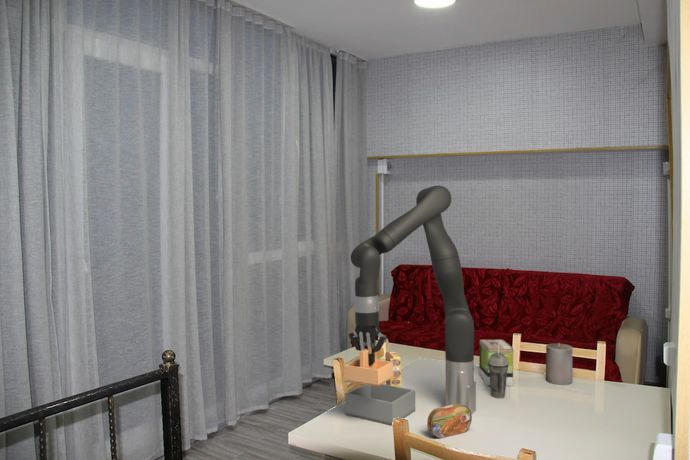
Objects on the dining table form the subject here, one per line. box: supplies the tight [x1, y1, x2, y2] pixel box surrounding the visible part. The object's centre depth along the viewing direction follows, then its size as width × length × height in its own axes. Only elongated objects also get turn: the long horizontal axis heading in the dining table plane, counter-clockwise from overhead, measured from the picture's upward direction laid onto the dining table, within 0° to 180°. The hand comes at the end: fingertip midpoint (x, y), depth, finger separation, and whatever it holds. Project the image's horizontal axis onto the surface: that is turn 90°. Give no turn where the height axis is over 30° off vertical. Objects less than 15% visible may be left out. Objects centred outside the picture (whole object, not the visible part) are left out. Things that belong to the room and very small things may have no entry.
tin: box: [426, 404, 473, 439], centre depth 169 cm, size 15×3×8 cm, turn 117°
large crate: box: [344, 383, 416, 427], centre depth 187 cm, size 18×16×7 cm
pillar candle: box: [545, 342, 574, 386], centre depth 220 cm, size 10×10×15 cm
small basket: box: [343, 348, 394, 387], centre depth 179 cm, size 12×10×10 cm
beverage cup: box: [488, 339, 509, 399], centre depth 203 cm, size 7×7×20 cm
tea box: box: [478, 339, 514, 387], centre depth 222 cm, size 15×10×15 cm
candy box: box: [384, 351, 402, 387], centre depth 202 cm, size 9×4×15 cm, turn 8°
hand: (368, 364), depth 179 cm, fingers closed on small basket, 1 cm apart
